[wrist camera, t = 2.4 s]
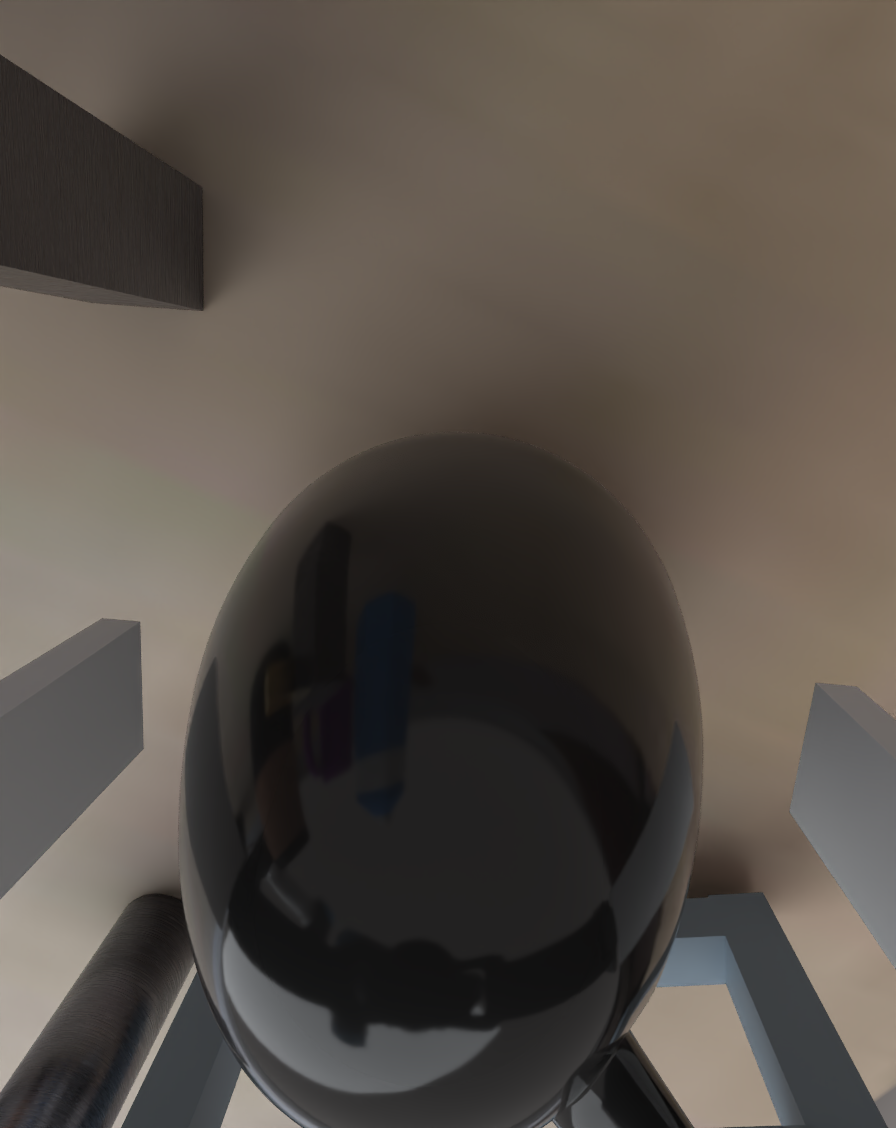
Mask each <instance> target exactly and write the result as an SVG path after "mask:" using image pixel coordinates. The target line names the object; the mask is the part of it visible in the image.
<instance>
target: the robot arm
mask: <svg viewBox="0 0 896 1128" xmlns="http://www.w3.org/2000/svg"><path fill="white" fill-rule="evenodd" d="M143 749H144V747H143V710H142V673H141V636H140V622H137V621H126V620H115V619H104V618H102V619H100V620H99V621H97V622H95V623H94V624H92V625H91V626H89V627H87V628H86V629H84V630H82V631H81V632H79V633H77V634H76V635H74V636H73V637H71V638H69V639H68V640H66V641H64V642H63V643H61V644H59V645H58V646H56V647H55V648H53V649H51V650H50V651H48V652H46V653H45V654H43V655H41V656H40V657H38V658H37V659H35V660H33V661H32V662H30V663H28V664H27V665H25V666H23V667H22V668H20V669H19V670H17V671H15V672H14V673H12V674H10V675H9V676H7V677H5V678H4V679H2V680H1V681H0V899H1V898H2V897H3V896H4V895H5V894H6V893H7V892H8V891H9V890H10V889H11V888H12V887H13V885H14V884H15V883H16V882H17V881H18V880H19V879H20V878H21V877H22V876H23V875H24V874H25V873H26V872H27V871H28V870H29V869H30V868H31V867H32V865H33V864H34V863H35V862H36V861H37V860H38V859H39V858H40V857H41V856H42V855H43V854H44V853H45V852H46V851H47V850H48V849H49V848H50V847H51V845H52V844H53V843H54V842H55V841H56V840H57V839H58V838H59V837H60V836H61V835H62V834H63V833H64V832H65V831H66V830H67V829H68V828H69V827H70V826H71V824H72V823H73V822H74V821H75V820H76V819H77V818H78V817H79V816H80V815H81V814H82V813H83V812H84V811H85V810H86V809H87V808H88V807H89V806H90V804H91V803H92V802H93V801H94V800H95V799H96V798H97V797H98V796H99V795H100V794H101V793H102V792H103V791H104V790H105V789H106V788H107V787H108V786H109V784H110V783H111V782H112V781H113V780H114V779H115V778H116V777H117V776H118V775H119V774H120V773H121V772H122V771H123V770H124V769H125V768H126V767H127V766H128V765H129V763H130V762H131V761H132V760H133V759H134V758H135V757H136V756H137V755H138V754H139V753H140V752H141V751H142V750H143ZM789 812H790V813H791V815H792V816H793V818H794V819H795V821H796V822H797V824H798V825H799V827H800V828H801V830H802V831H803V833H804V834H805V836H806V837H807V839H808V840H809V842H810V843H811V845H812V846H813V848H814V849H815V851H816V852H817V853H818V855H819V856H820V858H821V859H822V861H823V862H824V864H825V865H826V867H827V868H828V870H829V871H830V873H831V874H832V876H833V877H834V879H835V880H836V882H837V883H838V885H839V886H840V888H841V889H842V891H843V892H844V894H845V895H846V896H847V898H848V899H849V901H850V902H851V904H852V905H853V907H854V908H855V910H856V911H857V913H858V914H859V916H860V917H861V919H862V920H863V922H864V923H865V925H866V926H867V928H868V929H869V931H870V932H871V934H872V935H873V937H874V938H875V940H876V941H877V942H878V944H879V945H880V947H881V948H882V950H883V951H884V953H885V954H886V956H887V957H888V959H889V960H890V962H891V963H892V965H893V966H894V968H895V969H896V720H895V719H894V718H893V717H892V716H890V715H889V714H888V713H887V712H886V711H885V710H883V709H882V708H881V707H880V706H879V705H878V704H876V703H875V702H874V701H873V700H872V699H871V698H869V697H868V696H867V695H866V694H865V693H864V692H862V691H861V690H860V689H859V688H858V687H856V686H845V685H834V684H823V683H815V688H814V693H813V698H812V703H811V708H810V713H809V718H808V723H807V728H806V732H805V737H804V742H803V747H802V752H801V757H800V762H799V767H798V772H797V777H796V781H795V786H794V791H793V796H792V801H791V806H790V811H789Z"/></svg>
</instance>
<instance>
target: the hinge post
mask: <svg viewBox="0 0 896 1128" xmlns="http://www.w3.org/2000/svg"><path fill="white" fill-rule="evenodd" d="M193 964H194V958H193V954H192V950H191V946H190V942H189V938H188V933H187V928H186V923H185V917H184V911H183V904H182V901H180V900H178V899H176V898H173V897H170V896H167V895H159V894H154V895H146V896H143V897H140V898H138V899H136V900H134V901H133V902H131V903H130V904H129V905H128V906H127V907H126V909H125V910H124V911H123V913H122V914H121V916H120V917H119V919H118V920H117V922H116V923H115V925H114V926H113V928H112V929H111V930H110V932H109V933H108V935H107V936H106V938H105V939H104V941H103V942H102V944H101V945H100V947H99V948H98V950H97V951H96V953H95V954H94V956H93V957H92V958H91V960H90V961H89V963H88V964H87V966H86V967H85V969H84V970H83V972H82V973H81V975H80V976H79V978H78V979H77V981H76V982H75V984H74V985H73V986H72V988H71V989H70V991H69V992H68V994H67V995H66V997H65V998H64V1000H63V1001H62V1003H61V1004H60V1006H59V1007H58V1009H57V1010H56V1012H55V1013H54V1014H53V1016H52V1017H51V1019H50V1020H49V1022H48V1023H47V1025H46V1026H45V1028H44V1029H43V1031H42V1032H41V1034H40V1035H39V1037H38V1038H37V1040H36V1041H35V1042H34V1044H33V1045H32V1047H31V1048H30V1050H29V1051H28V1053H27V1054H26V1056H25V1057H24V1059H23V1060H22V1062H21V1063H20V1065H19V1066H18V1068H17V1069H16V1070H15V1072H14V1073H13V1075H12V1076H11V1078H10V1079H9V1081H8V1082H7V1084H6V1085H5V1087H4V1088H3V1090H2V1091H1V1093H0V1128H112V1126H113V1124H114V1122H115V1120H116V1118H117V1116H118V1114H119V1112H120V1110H121V1108H122V1106H123V1104H124V1102H125V1100H126V1098H127V1096H128V1094H129V1092H130V1090H131V1088H132V1086H133V1084H134V1082H135V1080H136V1078H137V1076H138V1074H139V1072H140V1070H141V1068H142V1066H143V1064H144V1062H145V1060H146V1058H147V1056H148V1054H149V1052H150V1050H151V1048H152V1046H153V1044H154V1042H155V1040H156V1038H157V1036H158V1034H159V1032H160V1030H161V1028H162V1026H163V1024H164V1022H165V1020H166V1018H167V1016H168V1014H169V1012H170V1010H171V1008H172V1006H173V1004H174V1002H175V1000H176V998H177V996H178V994H179V992H180V990H181V988H182V986H183V984H184V982H185V980H186V978H187V976H188V974H189V972H190V970H191V968H192V966H193Z"/></svg>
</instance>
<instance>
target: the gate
mask: <svg viewBox="0 0 896 1128" xmlns="http://www.w3.org/2000/svg"><path fill="white" fill-rule="evenodd" d="M714 984H726V985H727V988H728V990H729V993H730V995H731V998H732V1000H733V1003H734V1005H735V1008H736V1010H737V1013H738V1016H739V1018H740V1021H741V1023H742V1026H743V1028H744V1031H745V1033H746V1036H747V1039H748V1041H749V1044H750V1046H751V1049H752V1051H753V1054H754V1056H755V1059H756V1061H757V1064H758V1067H759V1069H760V1072H761V1074H762V1077H763V1079H764V1082H765V1084H766V1087H767V1090H768V1092H769V1095H770V1097H771V1100H772V1102H773V1105H774V1107H775V1110H776V1113H777V1115H778V1118H779V1120H780V1123H781V1125H782V1126H756V1127H725V1128H888V1127H887V1125H886V1123H885V1121H884V1119H883V1117H882V1116H881V1114H880V1112H879V1110H878V1108H877V1106H876V1104H875V1102H874V1101H873V1099H872V1097H871V1095H870V1093H869V1091H868V1089H867V1087H866V1085H865V1084H864V1082H863V1080H862V1078H861V1076H860V1074H859V1072H858V1070H857V1069H856V1067H855V1065H854V1063H853V1061H852V1059H851V1057H850V1055H849V1054H848V1052H847V1050H846V1048H845V1046H844V1044H843V1042H842V1040H841V1039H840V1037H839V1035H838V1033H837V1031H836V1029H835V1027H834V1025H833V1023H832V1022H831V1020H830V1018H829V1016H828V1014H827V1012H826V1010H825V1008H824V1007H823V1005H822V1003H821V1001H820V999H819V997H818V995H817V993H816V992H815V990H814V988H813V986H812V984H811V982H810V980H809V978H808V977H807V975H806V973H805V971H804V969H803V967H802V965H801V963H800V961H799V960H798V958H797V956H796V954H795V952H794V950H793V948H792V946H791V945H790V943H789V941H788V939H787V937H786V935H785V933H784V931H783V930H782V928H781V926H780V924H779V922H778V920H777V918H776V916H775V915H774V913H773V911H772V909H771V907H770V905H769V903H768V901H767V899H766V898H765V896H764V894H763V892H758V893H740V894H721V895H708V898H689V899H686V902H685V906H684V910H683V914H682V918H681V921H680V925H679V928H678V932H677V935H676V938H675V941H674V944H673V947H672V950H671V952H670V955H669V958H668V960H667V963H666V965H665V968H664V970H663V972H662V975H661V977H660V979H659V982H658V984H657V986H656V987H670V986H692V985H714ZM240 1071H241V1066H240V1065H239V1063H238V1062H237V1060H236V1059H235V1057H234V1055H233V1054H232V1052H231V1050H230V1049H229V1047H228V1045H227V1044H226V1042H225V1040H224V1038H223V1036H222V1034H221V1032H220V1030H219V1028H218V1026H217V1024H216V1021H215V1019H214V1017H213V1014H212V1012H211V1010H210V1007H209V1005H208V1002H207V999H206V997H205V994H204V991H203V988H202V985H201V982H200V979H199V976H198V972H197V973H196V975H195V977H194V979H193V981H192V983H191V985H190V987H189V989H188V991H187V993H186V995H185V997H184V1000H183V1002H182V1004H181V1006H180V1008H179V1010H178V1012H177V1014H176V1016H175V1018H174V1020H173V1022H172V1024H171V1026H170V1028H169V1030H168V1032H167V1034H166V1037H165V1039H164V1041H163V1043H162V1045H161V1047H160V1049H159V1051H158V1053H157V1055H156V1057H155V1059H154V1061H153V1063H152V1065H151V1067H150V1069H149V1071H148V1074H147V1076H146V1078H145V1080H144V1082H143V1084H142V1086H141V1088H140V1090H139V1092H138V1094H137V1096H136V1098H135V1100H134V1102H133V1104H132V1106H131V1108H130V1111H129V1113H128V1115H127V1117H126V1119H125V1121H124V1123H123V1125H122V1127H121V1128H220V1127H221V1124H222V1122H223V1119H224V1116H225V1113H226V1110H227V1107H228V1105H229V1102H230V1099H231V1096H232V1093H233V1091H234V1088H235V1085H236V1082H237V1079H238V1076H239V1074H240Z"/></svg>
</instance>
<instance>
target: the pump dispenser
mask: <svg viewBox="0 0 896 1128" xmlns="http://www.w3.org/2000/svg"><path fill="white" fill-rule="evenodd" d="M702 784H703V729H702V713H701V702H700V693H699V686H698V679H697V673H696V667H695V662H694V657H693V653H692V648H691V644H690V640H689V636H688V632H687V629H686V625H685V622H684V618H683V615H682V612H681V609H680V606H679V602H678V599H677V596H676V593H675V591H674V588H673V585H672V583H671V580H670V578H669V576H668V573H667V571H666V569H665V567H664V565H663V563H662V561H661V559H660V557H659V555H658V553H657V551H656V550H655V548H654V546H653V544H652V543H651V541H650V540H649V538H648V537H647V535H646V534H645V532H644V531H643V529H642V528H641V526H640V525H639V524H638V523H637V521H636V520H635V519H634V517H633V516H632V515H631V514H630V513H629V511H628V510H627V509H626V508H625V507H624V506H623V505H622V504H621V503H620V502H619V501H618V499H617V498H616V497H615V496H614V495H612V494H611V493H610V492H609V491H608V490H607V489H606V488H605V487H604V486H603V485H601V484H600V483H599V482H598V481H597V480H595V479H594V478H593V477H591V476H590V475H589V474H587V473H586V472H584V471H583V470H581V469H580V468H578V467H577V466H575V465H574V464H572V463H570V462H569V461H567V460H565V459H563V458H561V457H559V456H557V455H555V454H553V453H551V452H549V451H547V450H544V449H542V448H539V447H537V446H534V445H531V444H529V443H526V442H522V441H519V440H516V439H512V438H508V437H503V436H498V435H492V434H485V433H476V432H436V433H427V434H420V435H414V436H410V437H405V438H401V439H397V440H394V441H390V442H387V443H384V444H381V445H379V446H376V447H373V448H371V449H368V450H366V451H364V452H361V453H359V454H357V455H355V456H353V457H351V458H349V459H348V460H346V461H344V462H342V463H340V464H339V465H337V466H336V467H334V468H332V469H331V470H329V471H328V472H326V473H325V474H324V475H322V476H321V477H319V478H318V479H317V480H315V481H314V482H313V483H312V484H310V485H309V486H308V487H307V488H306V489H304V490H303V491H302V492H301V493H300V494H299V495H298V496H297V497H296V498H295V499H294V500H293V501H291V502H290V504H289V505H288V506H287V507H286V508H285V509H284V510H283V511H282V512H281V513H280V514H279V516H278V517H277V518H276V519H275V520H274V521H273V523H272V524H271V525H270V527H269V528H268V529H267V531H266V532H265V533H264V535H263V536H262V538H261V539H260V540H259V542H258V543H257V545H256V546H255V548H254V549H253V551H252V552H251V554H250V556H249V557H248V559H247V560H246V562H245V564H244V565H243V567H242V569H241V570H240V572H239V574H238V575H237V577H236V579H235V581H234V583H233V585H232V587H231V589H230V590H229V592H228V594H227V596H226V598H225V601H224V603H223V605H222V607H221V609H220V611H219V614H218V616H217V618H216V621H215V624H214V626H213V629H212V631H211V634H210V637H209V639H208V642H207V645H206V648H205V651H204V655H203V658H202V661H201V665H200V669H199V672H198V676H197V680H196V684H195V688H194V693H193V698H192V702H191V707H190V713H189V718H188V725H187V731H186V737H185V745H184V753H183V762H182V771H181V782H180V797H179V822H178V854H179V875H180V887H181V896H182V904H183V911H184V917H185V923H186V928H187V933H188V938H189V942H190V946H191V950H192V954H193V958H194V962H195V965H196V969H197V972H198V976H199V979H200V982H201V985H202V988H203V991H204V994H205V997H206V999H207V1002H208V1005H209V1007H210V1010H211V1012H212V1014H213V1017H214V1019H215V1021H216V1024H217V1026H218V1028H219V1030H220V1032H221V1034H222V1036H223V1038H224V1040H225V1042H226V1044H227V1045H228V1047H229V1049H230V1050H231V1052H232V1054H233V1055H234V1057H235V1059H236V1060H237V1062H238V1063H239V1065H240V1066H241V1068H242V1069H243V1070H244V1072H245V1073H246V1074H247V1076H248V1077H249V1078H250V1080H251V1081H252V1082H253V1083H254V1084H255V1086H256V1087H257V1088H258V1089H259V1090H260V1091H261V1092H262V1094H263V1095H264V1096H265V1097H266V1098H267V1099H268V1100H269V1101H270V1102H271V1103H273V1104H274V1105H275V1106H276V1107H277V1108H278V1109H279V1110H280V1111H282V1112H283V1113H284V1114H285V1115H287V1116H288V1117H289V1118H290V1119H292V1120H293V1121H294V1122H296V1123H297V1124H298V1125H300V1126H301V1127H303V1128H542V1127H544V1126H545V1125H547V1124H548V1123H549V1122H551V1121H552V1122H553V1123H554V1124H555V1125H556V1126H557V1127H558V1128H694V1127H693V1125H692V1124H691V1122H690V1121H689V1119H688V1118H687V1116H686V1115H685V1113H684V1112H683V1110H682V1109H681V1107H680V1106H679V1104H678V1102H677V1101H676V1099H675V1098H674V1096H673V1095H672V1093H671V1092H670V1090H669V1089H668V1087H667V1086H666V1084H665V1083H664V1081H663V1080H662V1078H661V1077H660V1075H659V1074H658V1072H657V1071H656V1069H655V1068H654V1066H653V1065H652V1063H651V1061H650V1060H649V1058H648V1057H647V1055H646V1054H645V1052H644V1051H643V1049H642V1048H641V1046H640V1045H639V1043H638V1041H637V1040H636V1038H635V1037H634V1035H633V1033H632V1032H631V1030H630V1028H631V1027H632V1025H633V1024H634V1022H635V1021H636V1019H637V1018H638V1017H639V1015H640V1014H641V1012H642V1010H643V1009H644V1007H645V1006H646V1004H647V1003H648V1001H649V999H650V998H651V996H652V994H653V992H654V990H655V988H656V986H657V984H658V982H659V979H660V977H661V975H662V972H663V970H664V968H665V965H666V963H667V960H668V958H669V955H670V952H671V950H672V947H673V944H674V941H675V938H676V935H677V932H678V928H679V925H680V921H681V918H682V914H683V910H684V906H685V902H686V898H687V894H688V890H689V885H690V880H691V876H692V871H693V866H694V860H695V854H696V848H697V840H698V833H699V824H700V814H701V801H702Z"/></svg>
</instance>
